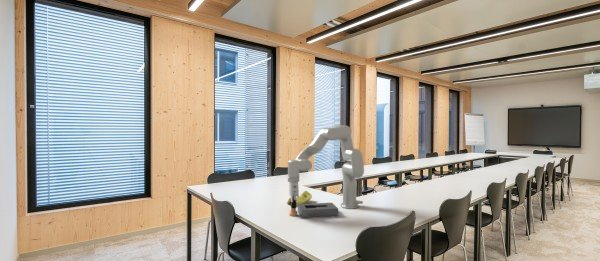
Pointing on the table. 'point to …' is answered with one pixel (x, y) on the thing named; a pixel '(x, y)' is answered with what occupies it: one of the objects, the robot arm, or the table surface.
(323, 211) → the keyhole plate
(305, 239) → the table surface
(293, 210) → the peg
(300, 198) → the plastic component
